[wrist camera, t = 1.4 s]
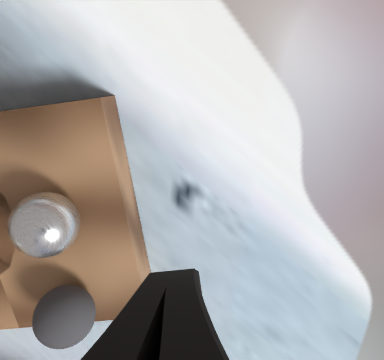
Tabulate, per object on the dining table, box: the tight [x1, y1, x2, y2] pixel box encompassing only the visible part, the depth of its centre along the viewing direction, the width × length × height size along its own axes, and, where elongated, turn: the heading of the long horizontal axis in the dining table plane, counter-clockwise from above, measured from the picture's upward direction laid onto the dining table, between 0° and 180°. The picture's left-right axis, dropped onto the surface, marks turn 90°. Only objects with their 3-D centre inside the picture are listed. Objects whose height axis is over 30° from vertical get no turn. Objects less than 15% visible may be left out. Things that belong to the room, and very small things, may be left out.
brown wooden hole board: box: [0, 95, 151, 330], centre depth 18 cm, size 13×16×2 cm
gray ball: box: [32, 285, 96, 349], centre depth 16 cm, size 3×3×3 cm
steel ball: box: [7, 192, 81, 258], centre depth 15 cm, size 3×3×3 cm
